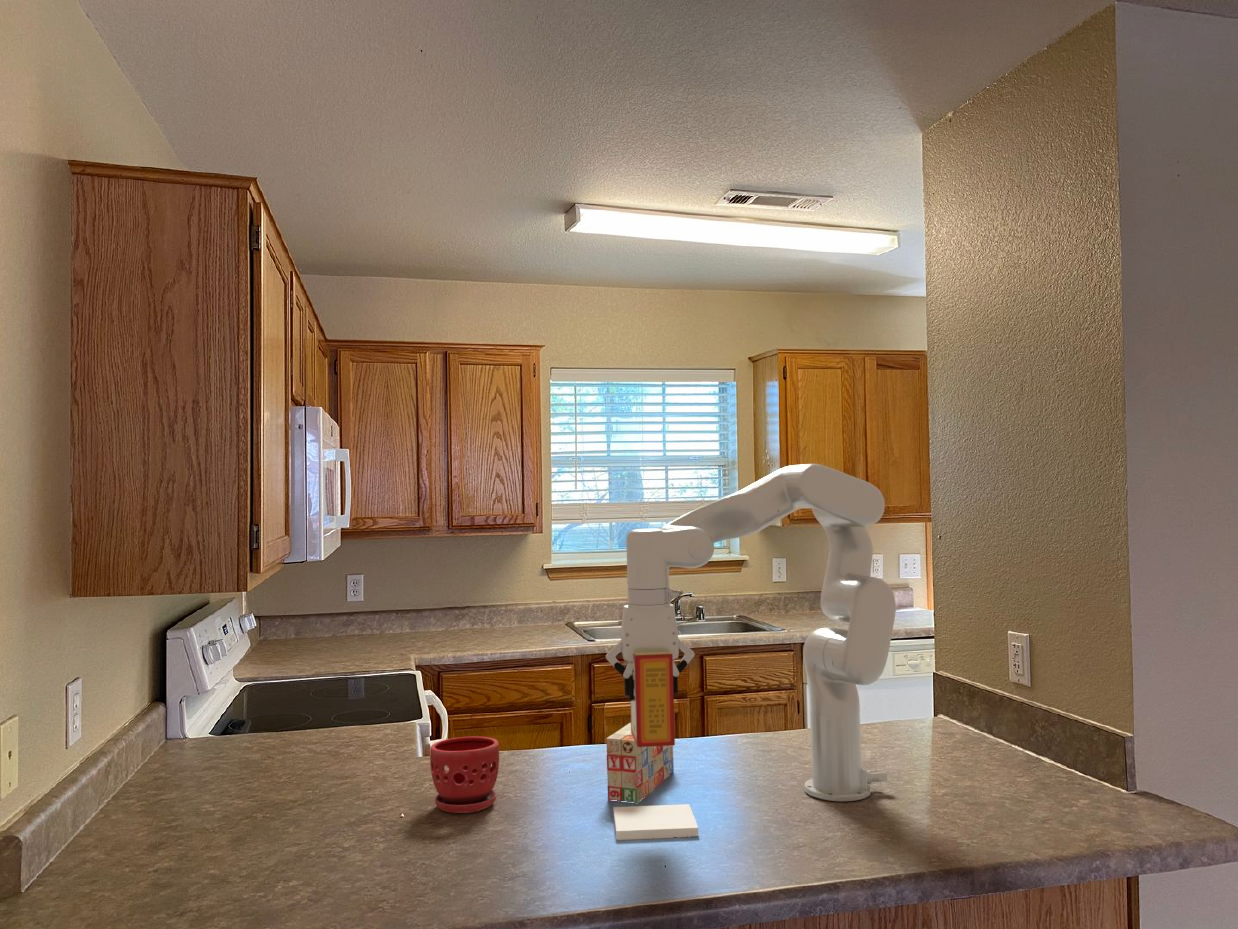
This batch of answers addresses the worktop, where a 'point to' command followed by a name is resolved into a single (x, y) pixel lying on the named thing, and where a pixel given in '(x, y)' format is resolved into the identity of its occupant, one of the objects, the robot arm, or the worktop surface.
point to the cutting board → (654, 822)
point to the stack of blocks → (635, 766)
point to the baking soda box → (652, 699)
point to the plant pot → (465, 773)
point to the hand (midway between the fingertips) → (651, 698)
